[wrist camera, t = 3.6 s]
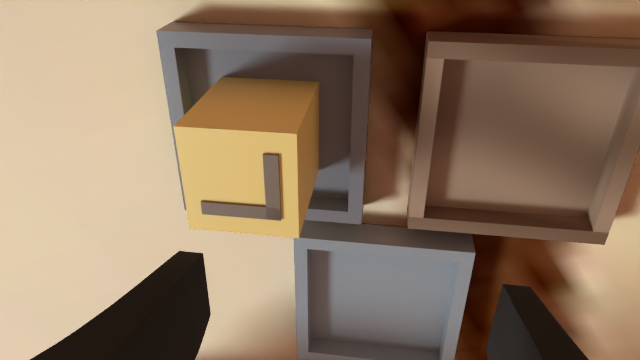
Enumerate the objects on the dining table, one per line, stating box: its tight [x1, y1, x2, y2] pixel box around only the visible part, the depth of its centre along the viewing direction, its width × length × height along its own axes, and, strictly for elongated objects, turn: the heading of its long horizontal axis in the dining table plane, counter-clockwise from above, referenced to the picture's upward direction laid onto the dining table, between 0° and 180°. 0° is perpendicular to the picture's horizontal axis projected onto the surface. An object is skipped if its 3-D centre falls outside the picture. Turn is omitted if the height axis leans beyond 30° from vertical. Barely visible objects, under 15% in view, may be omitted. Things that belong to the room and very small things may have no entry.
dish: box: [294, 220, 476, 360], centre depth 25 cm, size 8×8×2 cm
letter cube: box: [173, 77, 319, 238], centre depth 19 cm, size 4×4×5 cm
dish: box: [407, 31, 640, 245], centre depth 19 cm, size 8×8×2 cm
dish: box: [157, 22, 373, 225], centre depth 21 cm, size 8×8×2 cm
